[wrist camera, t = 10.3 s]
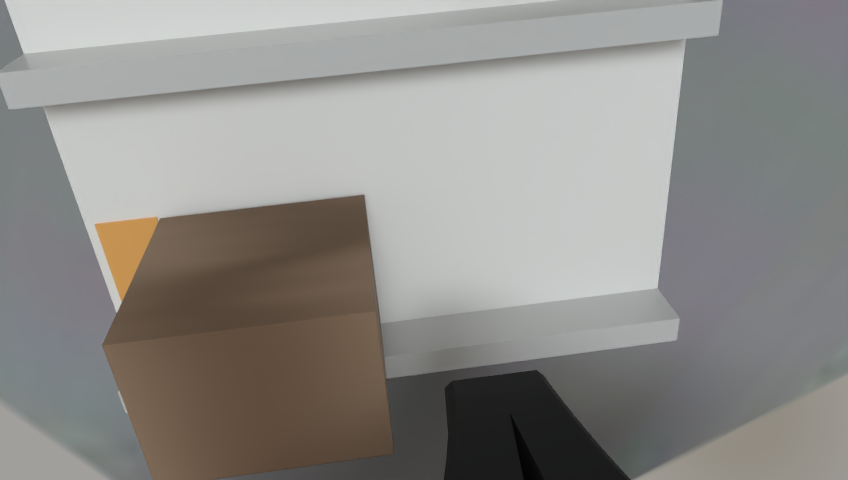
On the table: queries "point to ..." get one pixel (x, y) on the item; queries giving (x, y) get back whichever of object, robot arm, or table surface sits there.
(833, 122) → the table surface
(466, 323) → the white flat ridged tray
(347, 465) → the table surface
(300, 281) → the tab
